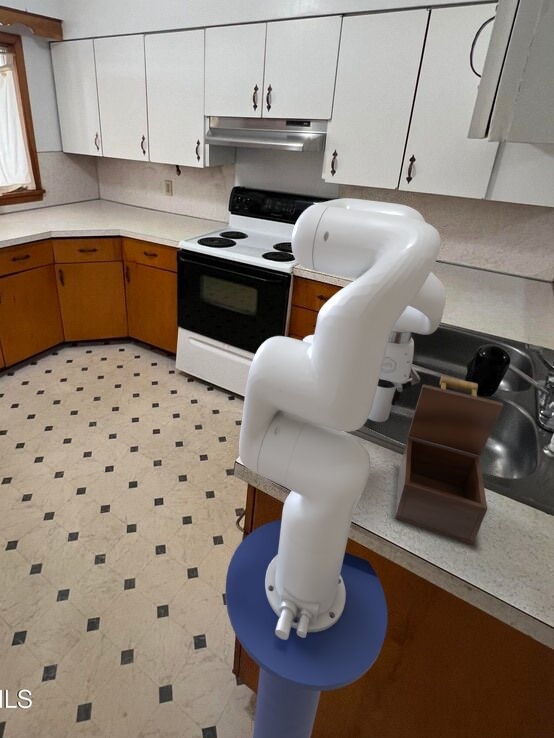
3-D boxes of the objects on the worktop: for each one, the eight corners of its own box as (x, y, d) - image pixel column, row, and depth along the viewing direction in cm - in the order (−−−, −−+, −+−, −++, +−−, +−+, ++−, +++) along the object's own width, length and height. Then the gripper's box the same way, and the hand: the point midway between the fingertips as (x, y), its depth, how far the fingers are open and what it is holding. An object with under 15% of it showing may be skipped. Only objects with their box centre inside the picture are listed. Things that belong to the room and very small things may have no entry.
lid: (503, 405, 71) (500, 381, 76) (422, 386, 76) (424, 365, 80) (480, 456, 79) (478, 431, 83) (408, 436, 83) (410, 413, 88)
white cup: (393, 411, 104) (401, 377, 100) (386, 427, 99) (394, 392, 95) (366, 401, 107) (373, 368, 103) (358, 416, 102) (364, 382, 98)
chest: (472, 545, 72) (487, 509, 69) (395, 518, 77) (404, 483, 73) (467, 490, 83) (479, 456, 79) (399, 469, 87) (407, 436, 84)
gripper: (351, 330, 93) (340, 397, 101) (436, 348, 87) (417, 417, 95) (356, 317, 99) (345, 381, 107) (435, 332, 93) (418, 398, 101)
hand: (379, 397), depth 101 cm, fingers closed on white cup, 5 cm apart
